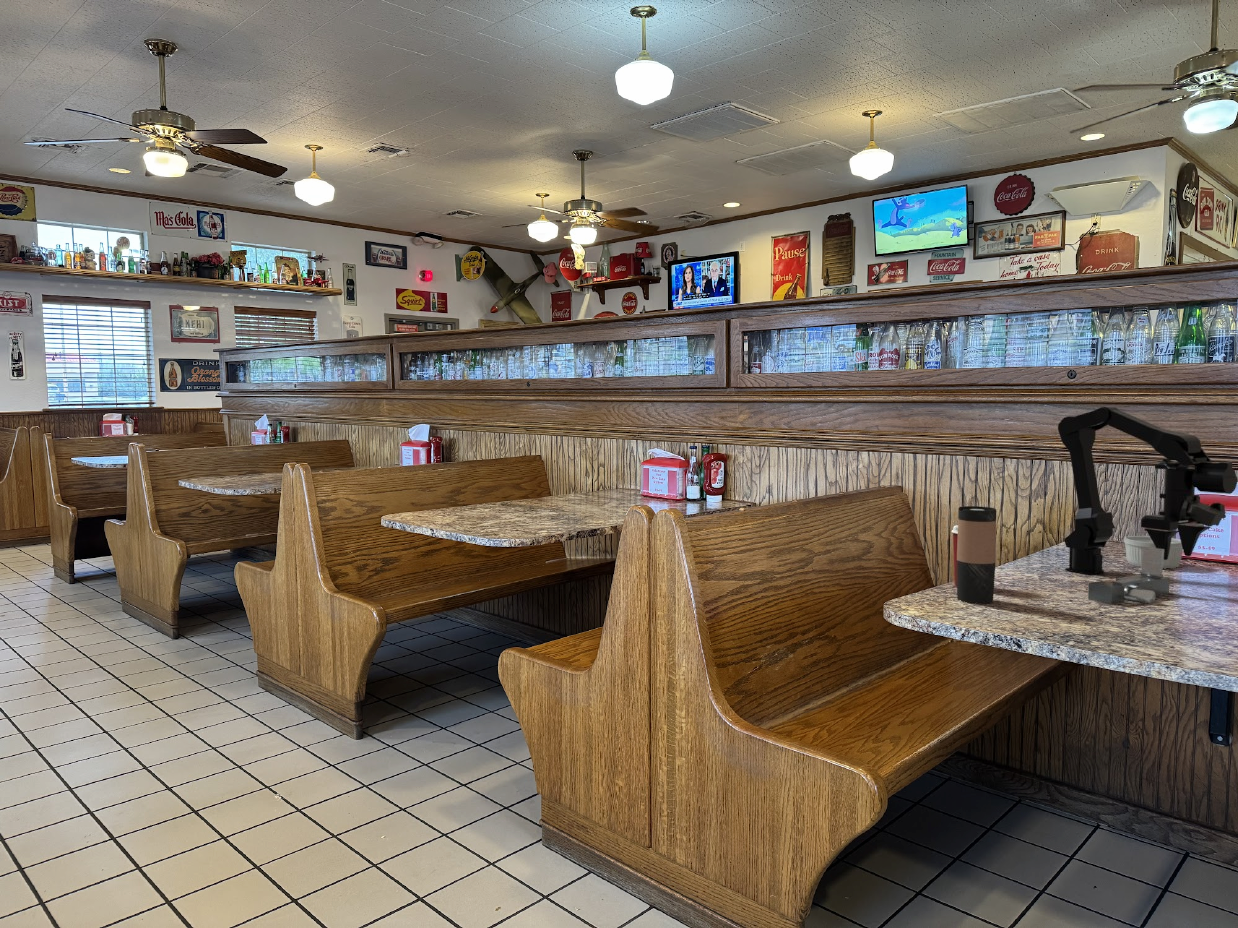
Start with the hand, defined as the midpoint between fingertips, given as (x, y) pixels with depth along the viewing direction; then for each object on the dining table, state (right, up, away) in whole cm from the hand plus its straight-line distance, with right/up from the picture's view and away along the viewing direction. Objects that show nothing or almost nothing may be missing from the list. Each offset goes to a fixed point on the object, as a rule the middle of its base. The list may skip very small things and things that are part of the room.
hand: (1176, 557), depth 185 cm
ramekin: (+13, -5, +28) cm, 31 cm away
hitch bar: (-16, -8, -8) cm, 19 cm away
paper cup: (-46, -7, +3) cm, 47 cm away
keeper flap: (-8, -3, -4) cm, 10 cm away
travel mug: (-51, -8, -10) cm, 52 cm away
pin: (-18, -8, -10) cm, 22 cm away
